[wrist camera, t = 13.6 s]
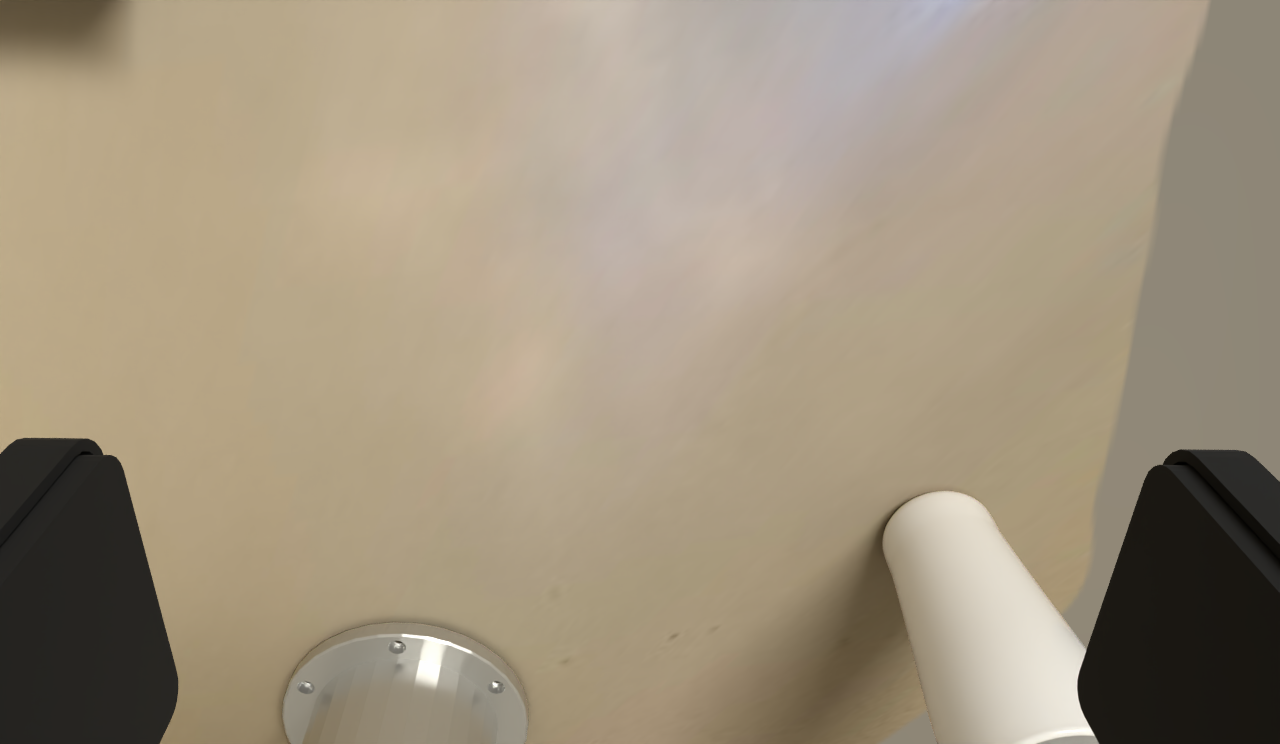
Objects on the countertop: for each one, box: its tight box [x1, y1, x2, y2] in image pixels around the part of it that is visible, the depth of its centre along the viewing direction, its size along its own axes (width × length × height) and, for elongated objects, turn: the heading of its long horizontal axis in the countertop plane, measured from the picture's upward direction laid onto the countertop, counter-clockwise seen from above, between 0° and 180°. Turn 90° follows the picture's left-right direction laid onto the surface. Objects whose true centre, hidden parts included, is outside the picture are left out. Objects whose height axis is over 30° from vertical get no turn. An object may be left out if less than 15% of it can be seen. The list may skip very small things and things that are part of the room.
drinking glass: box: [882, 491, 1099, 744], centre depth 41 cm, size 7×7×15 cm
